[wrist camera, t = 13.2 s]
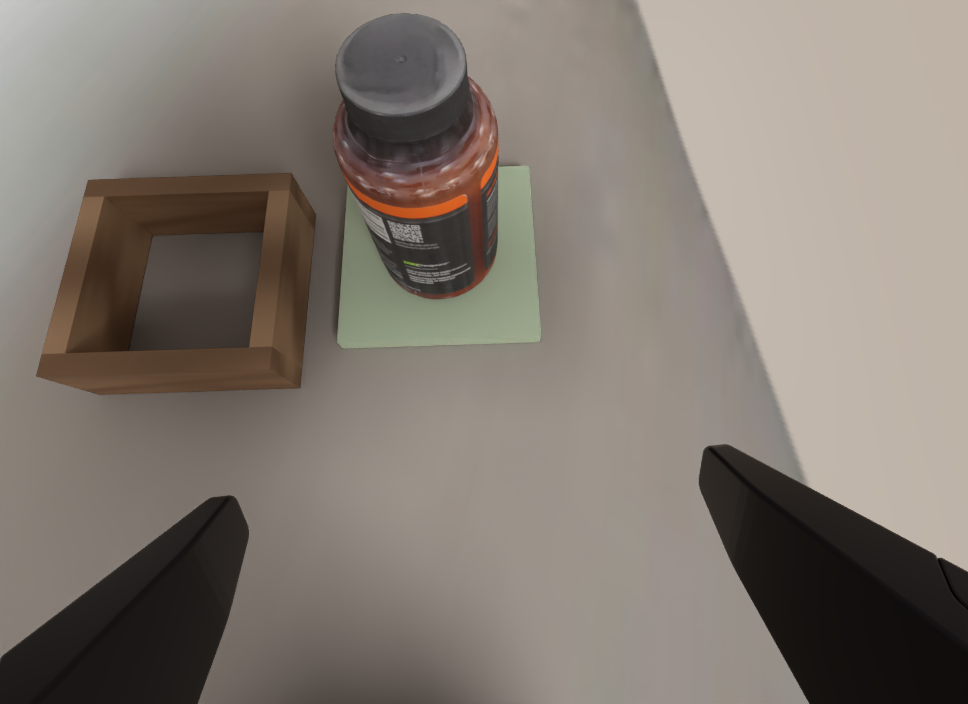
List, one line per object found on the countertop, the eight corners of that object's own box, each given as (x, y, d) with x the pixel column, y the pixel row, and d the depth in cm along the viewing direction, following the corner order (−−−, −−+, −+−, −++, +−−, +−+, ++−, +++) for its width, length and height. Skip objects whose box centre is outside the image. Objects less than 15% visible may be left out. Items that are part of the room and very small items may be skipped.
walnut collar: (300, 388, 24) (269, 368, 21) (99, 394, 24) (36, 376, 21) (315, 214, 27) (291, 172, 24) (137, 220, 27) (88, 179, 24)
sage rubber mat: (539, 342, 25) (541, 335, 24) (342, 348, 25) (336, 342, 24) (527, 177, 28) (528, 165, 27) (353, 183, 28) (348, 171, 27)
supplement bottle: (475, 189, 26) (465, -34, 15) (514, 282, 24) (533, 104, 14) (369, 222, 26) (282, 14, 15) (401, 320, 24) (329, 164, 13)
